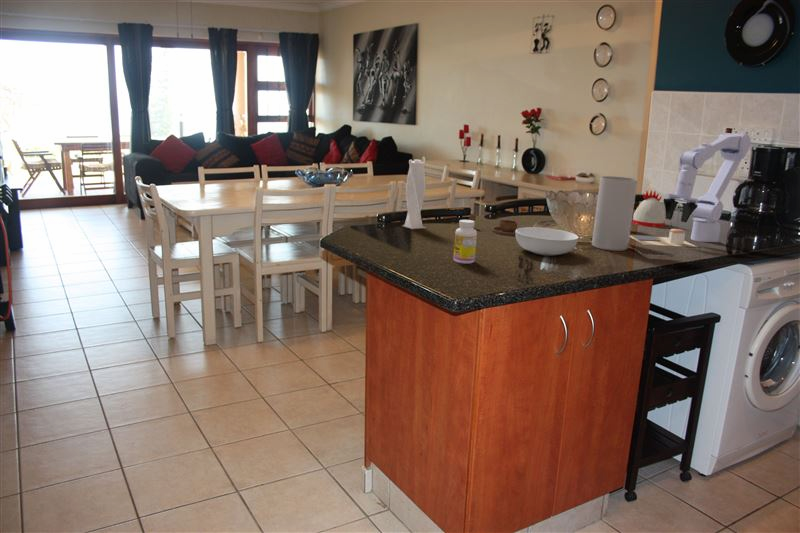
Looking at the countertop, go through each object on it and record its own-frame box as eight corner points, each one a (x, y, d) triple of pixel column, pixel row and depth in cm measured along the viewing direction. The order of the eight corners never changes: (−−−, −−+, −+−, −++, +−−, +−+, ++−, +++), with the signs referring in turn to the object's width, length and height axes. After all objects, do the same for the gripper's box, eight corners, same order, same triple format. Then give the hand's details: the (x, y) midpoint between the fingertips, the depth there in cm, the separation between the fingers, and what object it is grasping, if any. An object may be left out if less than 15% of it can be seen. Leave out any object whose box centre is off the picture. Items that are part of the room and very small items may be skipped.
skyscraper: (428, 229, 248) (433, 156, 241) (411, 230, 243) (416, 156, 236) (416, 225, 254) (420, 154, 247) (399, 226, 250) (403, 154, 243)
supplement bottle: (451, 258, 202) (454, 218, 199) (472, 259, 203) (475, 219, 199) (455, 263, 196) (458, 222, 192) (476, 264, 196) (479, 223, 193)
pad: (651, 237, 247) (651, 236, 247) (660, 241, 240) (660, 240, 240) (631, 236, 247) (631, 235, 247) (639, 240, 239) (639, 239, 239)
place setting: (503, 238, 239) (504, 223, 237) (465, 229, 254) (466, 214, 252) (533, 234, 250) (535, 220, 248) (495, 225, 265) (497, 211, 263)
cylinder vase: (611, 252, 223) (621, 181, 217) (584, 245, 233) (593, 176, 227) (634, 249, 230) (645, 180, 223) (607, 242, 240) (616, 176, 233)
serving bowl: (564, 263, 204) (567, 242, 202) (504, 252, 214) (505, 232, 213) (583, 252, 221) (586, 233, 219) (526, 243, 232) (528, 224, 230)
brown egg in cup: (679, 242, 240) (681, 229, 239) (685, 244, 236) (687, 231, 234) (666, 241, 240) (668, 228, 239) (672, 244, 235) (674, 231, 234)
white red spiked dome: (629, 220, 294) (633, 187, 290) (660, 222, 292) (665, 189, 288) (635, 225, 280) (640, 191, 276) (668, 228, 279) (673, 193, 275)
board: (677, 241, 249) (678, 237, 249) (697, 250, 234) (697, 246, 233) (627, 239, 248) (627, 235, 248) (643, 248, 233) (644, 244, 232)
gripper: (678, 182, 227) (669, 219, 230) (708, 188, 233) (698, 225, 235) (664, 180, 234) (655, 216, 236) (693, 186, 239) (684, 221, 242)
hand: (675, 220), depth 236 cm, fingers open, 7 cm apart
